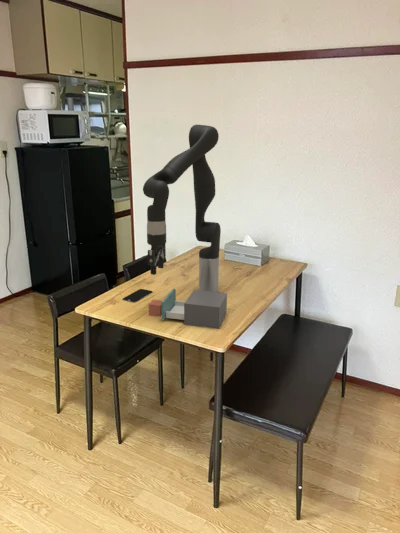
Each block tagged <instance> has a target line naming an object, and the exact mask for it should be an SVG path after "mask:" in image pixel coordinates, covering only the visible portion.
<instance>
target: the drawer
mask: <svg viewBox="0 0 400 533" xmlns="http://www.w3.org/2000/svg"><path fill="white" fill-rule="evenodd" d="M176 290H177V289H176V288H172V289H171V291H170V292H168V294H167V295H166V296H165V297H164V299H162V300H161V301H162V302H161V310H162V315H161V320H165V319H173V320H181V321H184V303H185V302H186V300H185V301H184V300H176V298H177V297H176V296H177V294H176Z"/></svg>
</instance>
